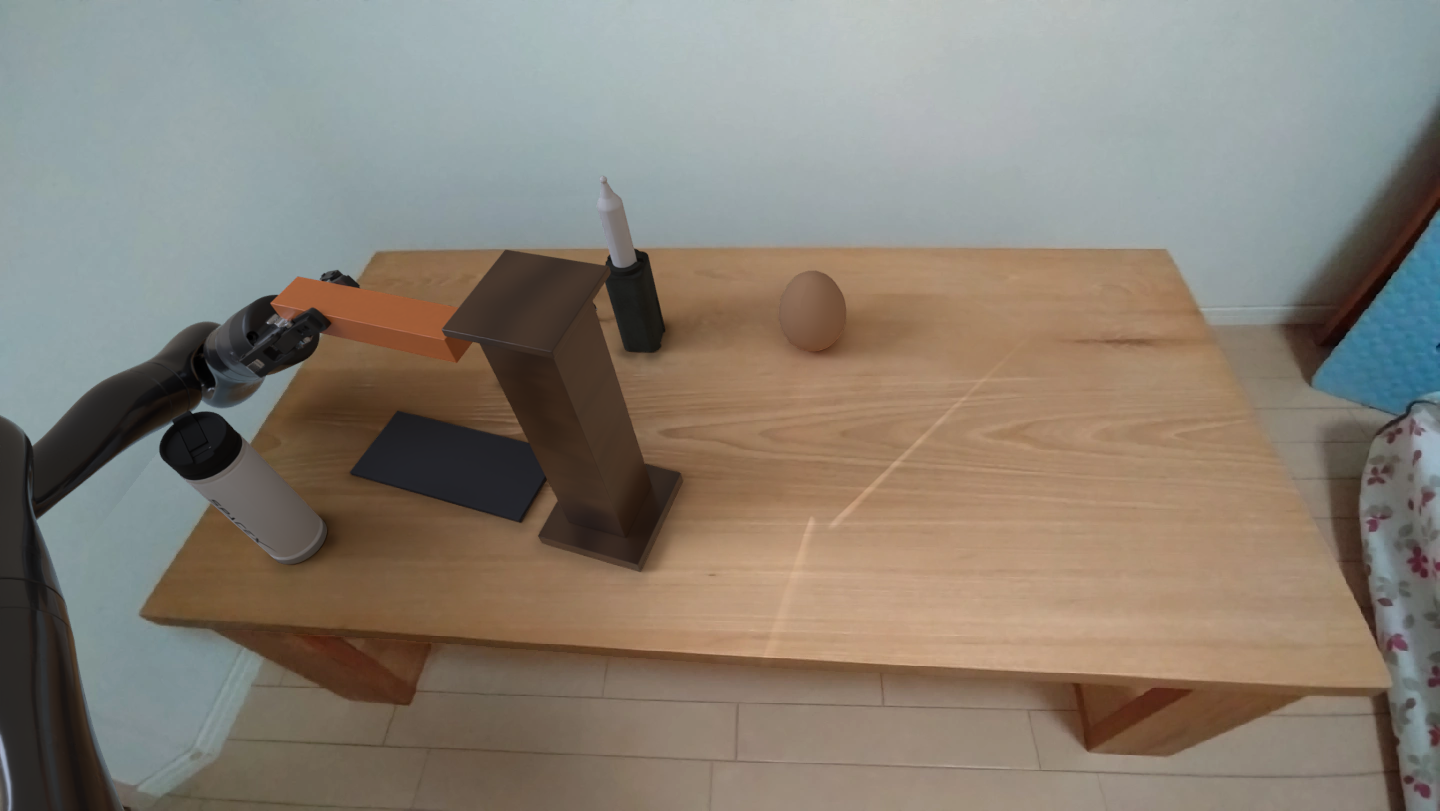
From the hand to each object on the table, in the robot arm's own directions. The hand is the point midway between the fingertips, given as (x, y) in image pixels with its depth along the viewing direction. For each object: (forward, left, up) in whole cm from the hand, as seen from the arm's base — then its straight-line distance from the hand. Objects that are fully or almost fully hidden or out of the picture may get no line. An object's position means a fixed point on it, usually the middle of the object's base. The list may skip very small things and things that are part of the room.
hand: (336, 301), depth 72 cm
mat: (+1, -1, -27) cm, 27 cm away
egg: (+39, -28, -27) cm, 55 cm away
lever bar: (+1, -3, -3) cm, 5 cm away
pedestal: (+6, -22, -27) cm, 35 cm away
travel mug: (-16, +7, -27) cm, 32 cm away
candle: (+29, -8, -27) cm, 40 cm away
